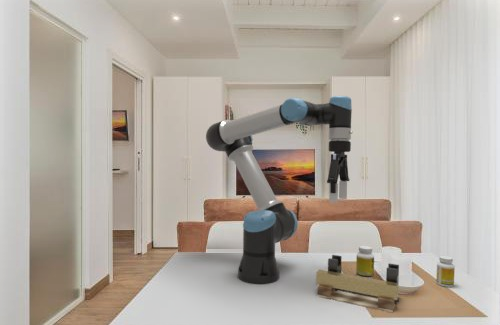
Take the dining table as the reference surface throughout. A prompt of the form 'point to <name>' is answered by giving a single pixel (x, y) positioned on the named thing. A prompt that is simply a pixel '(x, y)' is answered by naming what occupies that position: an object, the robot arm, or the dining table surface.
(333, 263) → the rack
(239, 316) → the dining table surface
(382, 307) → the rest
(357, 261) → the pill bottle
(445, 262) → the supplement bottle
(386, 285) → the rail
